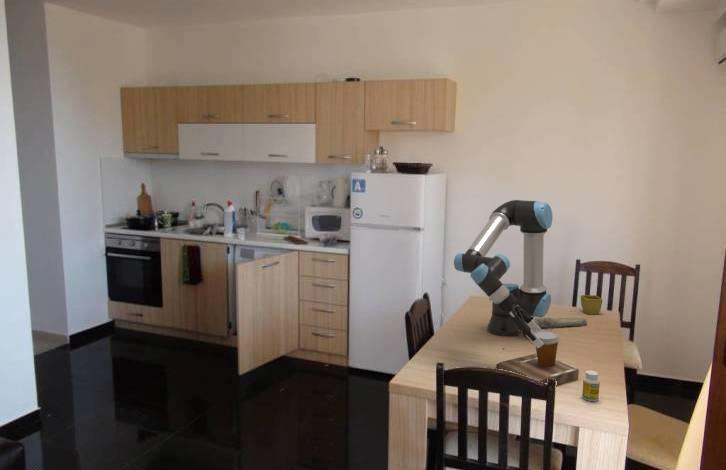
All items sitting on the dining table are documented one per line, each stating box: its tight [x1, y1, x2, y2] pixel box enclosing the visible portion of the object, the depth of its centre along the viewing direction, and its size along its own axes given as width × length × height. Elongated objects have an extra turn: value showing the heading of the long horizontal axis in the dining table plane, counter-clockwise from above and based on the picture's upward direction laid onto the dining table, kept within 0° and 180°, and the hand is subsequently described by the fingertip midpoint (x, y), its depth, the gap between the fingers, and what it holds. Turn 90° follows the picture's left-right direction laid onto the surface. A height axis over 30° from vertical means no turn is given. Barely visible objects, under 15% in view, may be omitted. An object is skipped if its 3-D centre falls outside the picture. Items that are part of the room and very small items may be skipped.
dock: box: [495, 352, 580, 387], centre depth 211 cm, size 22×21×4 cm
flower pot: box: [580, 294, 603, 315], centre depth 294 cm, size 9×9×9 cm
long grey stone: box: [525, 316, 588, 330], centre depth 273 cm, size 35×5×10 cm
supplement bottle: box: [581, 370, 601, 402], centre depth 191 cm, size 5×5×10 cm
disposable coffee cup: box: [534, 329, 560, 367], centre depth 211 cm, size 10×10×12 cm
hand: (541, 340), depth 209 cm, fingers open, 13 cm apart
